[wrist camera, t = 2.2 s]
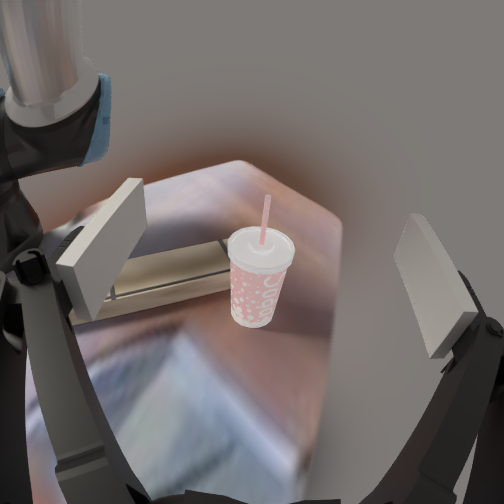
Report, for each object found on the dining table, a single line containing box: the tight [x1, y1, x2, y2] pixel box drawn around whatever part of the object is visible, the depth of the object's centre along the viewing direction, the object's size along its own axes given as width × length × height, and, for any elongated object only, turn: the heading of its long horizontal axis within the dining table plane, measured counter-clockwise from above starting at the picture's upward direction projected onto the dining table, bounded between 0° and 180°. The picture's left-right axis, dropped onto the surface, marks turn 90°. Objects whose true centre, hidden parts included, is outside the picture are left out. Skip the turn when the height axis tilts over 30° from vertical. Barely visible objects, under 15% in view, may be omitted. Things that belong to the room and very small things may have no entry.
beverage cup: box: [228, 195, 295, 328], centre depth 30 cm, size 6×6×14 cm
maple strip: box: [69, 238, 231, 326], centre depth 35 cm, size 6×26×3 cm, turn 115°
